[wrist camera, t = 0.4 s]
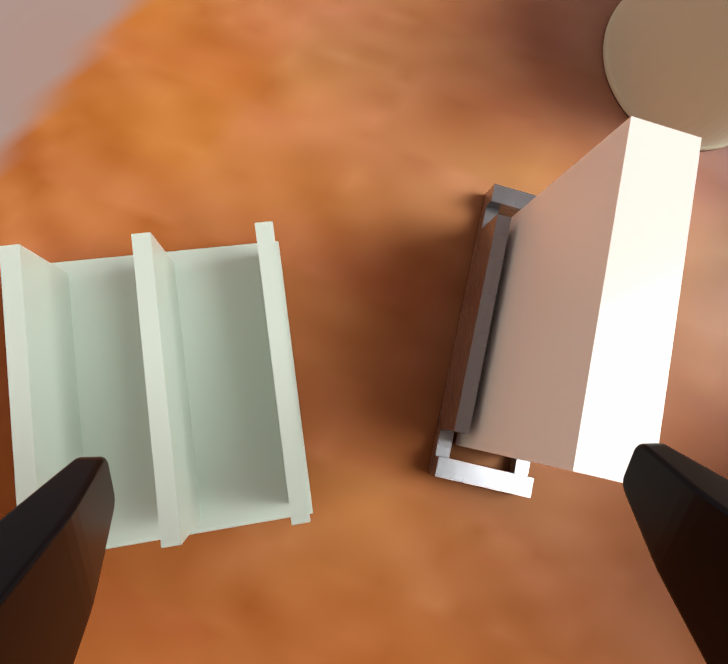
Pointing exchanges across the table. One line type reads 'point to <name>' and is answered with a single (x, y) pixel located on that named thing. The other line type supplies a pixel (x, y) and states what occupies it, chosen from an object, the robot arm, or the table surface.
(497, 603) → the table surface
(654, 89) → the can
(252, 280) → the dish rack
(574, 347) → the white block
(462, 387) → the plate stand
